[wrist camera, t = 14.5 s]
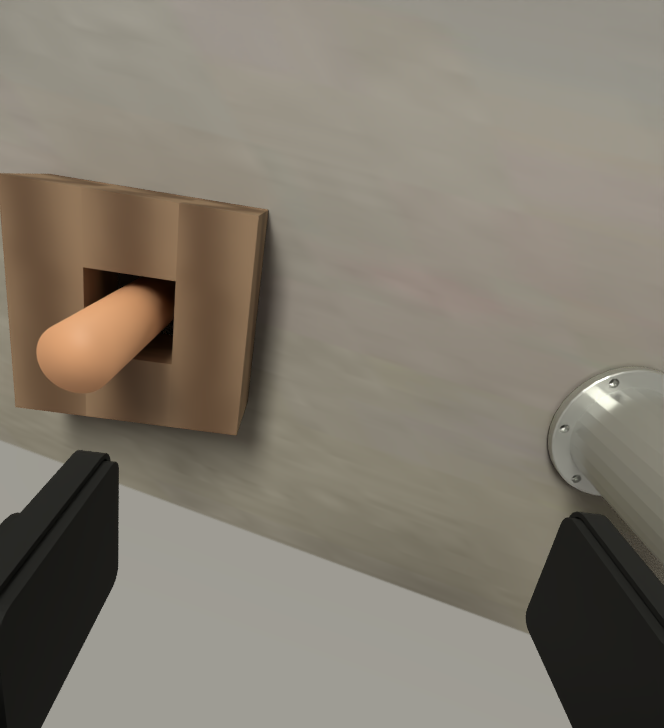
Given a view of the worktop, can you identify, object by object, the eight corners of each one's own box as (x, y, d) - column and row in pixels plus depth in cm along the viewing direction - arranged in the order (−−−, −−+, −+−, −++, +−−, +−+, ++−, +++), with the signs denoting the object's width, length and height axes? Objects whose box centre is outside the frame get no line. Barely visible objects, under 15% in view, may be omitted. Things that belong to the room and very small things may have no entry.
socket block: (268, 209, 37) (258, 215, 31) (247, 401, 42) (236, 435, 37) (48, 173, 36) (-3, 173, 30) (57, 375, 41) (15, 406, 36)
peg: (184, 276, 38) (114, 328, 25) (182, 325, 40) (113, 398, 27) (132, 268, 38) (34, 317, 25) (132, 318, 40) (38, 388, 26)
